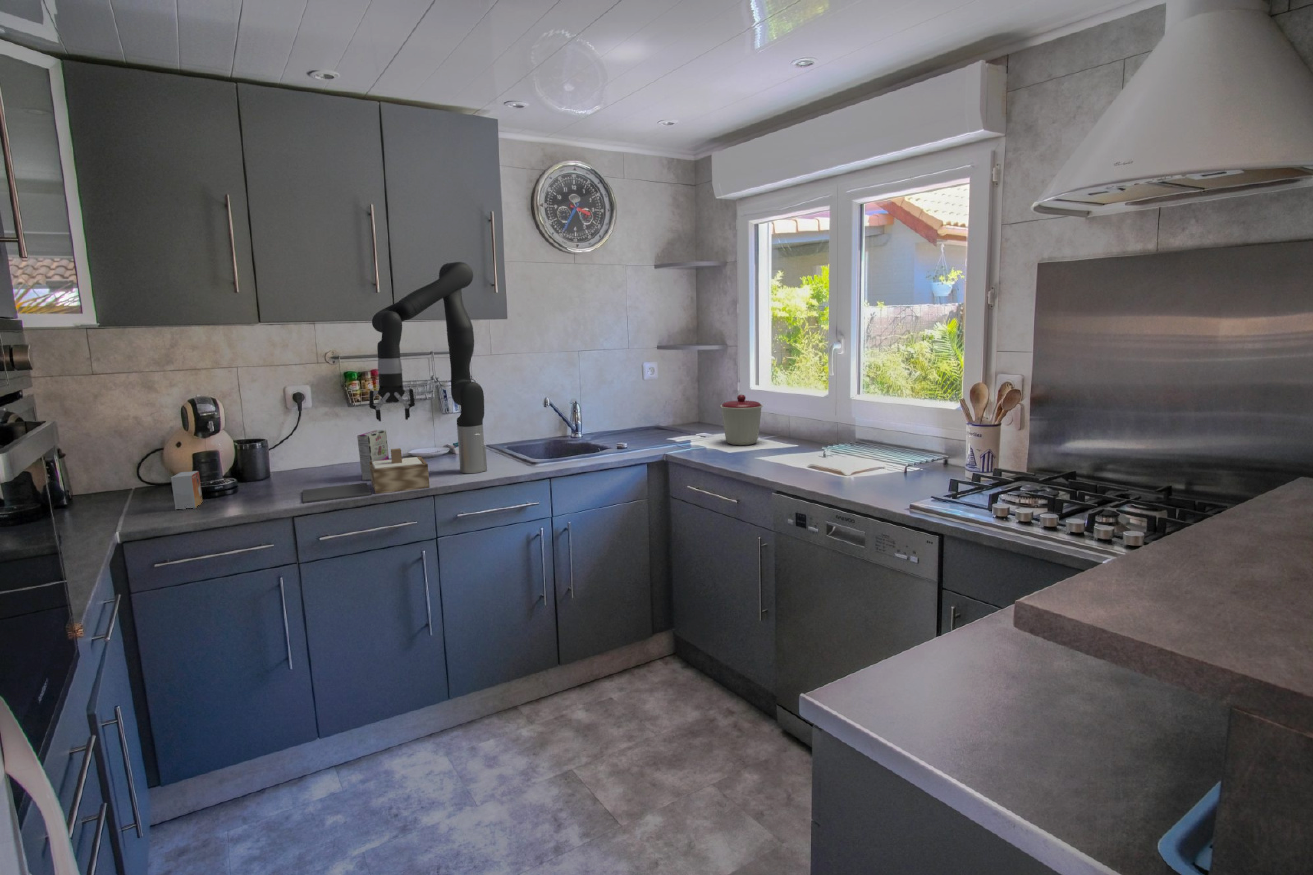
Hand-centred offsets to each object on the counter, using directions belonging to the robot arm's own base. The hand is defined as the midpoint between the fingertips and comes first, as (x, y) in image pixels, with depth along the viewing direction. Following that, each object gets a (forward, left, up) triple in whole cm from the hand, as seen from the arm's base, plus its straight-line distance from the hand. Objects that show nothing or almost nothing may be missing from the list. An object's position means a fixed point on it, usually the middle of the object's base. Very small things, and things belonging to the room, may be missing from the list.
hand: (393, 420), depth 245 cm
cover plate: (0, 0, -16) cm, 16 cm away
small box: (+62, -6, -23) cm, 66 cm away
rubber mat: (+20, 0, -23) cm, 30 cm away
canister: (-140, -5, -23) cm, 142 cm away
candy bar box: (+6, -20, -23) cm, 31 cm away
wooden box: (0, 0, -23) cm, 23 cm away
